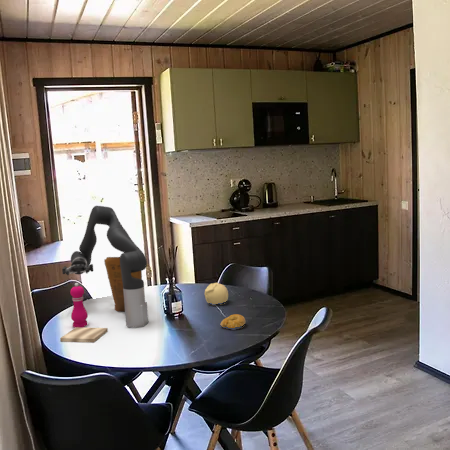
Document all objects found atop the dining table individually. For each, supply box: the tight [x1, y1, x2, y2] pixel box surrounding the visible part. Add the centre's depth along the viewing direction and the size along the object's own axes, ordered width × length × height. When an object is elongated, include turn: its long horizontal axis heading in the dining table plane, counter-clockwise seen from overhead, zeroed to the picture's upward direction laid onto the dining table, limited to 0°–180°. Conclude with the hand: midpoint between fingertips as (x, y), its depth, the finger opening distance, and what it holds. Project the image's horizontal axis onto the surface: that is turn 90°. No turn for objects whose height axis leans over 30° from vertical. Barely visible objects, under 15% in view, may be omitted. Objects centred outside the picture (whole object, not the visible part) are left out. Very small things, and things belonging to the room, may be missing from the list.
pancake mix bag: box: [103, 256, 143, 313], centre depth 234 cm, size 7×19×28 cm, turn 72°
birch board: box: [60, 327, 109, 343], centre depth 203 cm, size 15×13×2 cm
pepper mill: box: [69, 282, 89, 328], centre depth 216 cm, size 7×7×20 cm
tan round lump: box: [204, 282, 229, 304], centre depth 240 cm, size 11×12×11 cm
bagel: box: [220, 313, 246, 328], centre depth 206 cm, size 10×11×5 cm
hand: (77, 272), depth 224 cm, fingers open, 8 cm apart
